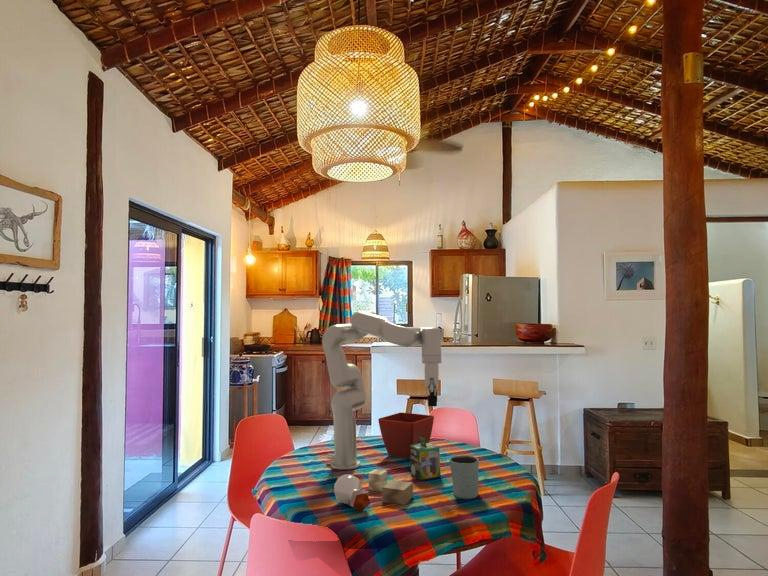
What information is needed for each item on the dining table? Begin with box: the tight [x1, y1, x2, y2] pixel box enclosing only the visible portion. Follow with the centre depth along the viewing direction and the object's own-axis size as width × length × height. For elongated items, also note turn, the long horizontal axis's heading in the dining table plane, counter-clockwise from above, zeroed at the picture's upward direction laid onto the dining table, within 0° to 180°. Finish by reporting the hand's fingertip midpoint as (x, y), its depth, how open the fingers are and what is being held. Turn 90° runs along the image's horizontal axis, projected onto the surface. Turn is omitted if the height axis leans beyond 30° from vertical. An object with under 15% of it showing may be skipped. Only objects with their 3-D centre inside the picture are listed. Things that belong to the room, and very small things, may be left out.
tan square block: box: [382, 479, 414, 506], centre depth 167 cm, size 8×8×5 cm
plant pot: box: [378, 412, 435, 460], centre depth 222 cm, size 19×19×17 cm
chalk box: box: [409, 437, 442, 481], centre depth 192 cm, size 9×9×15 cm
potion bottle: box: [333, 473, 371, 513], centre depth 162 cm, size 9×10×15 cm
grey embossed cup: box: [449, 455, 480, 500], centre depth 170 cm, size 10×10×12 cm
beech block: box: [368, 468, 388, 492], centre depth 178 cm, size 5×5×6 cm
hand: (432, 403), depth 187 cm, fingers open, 9 cm apart
